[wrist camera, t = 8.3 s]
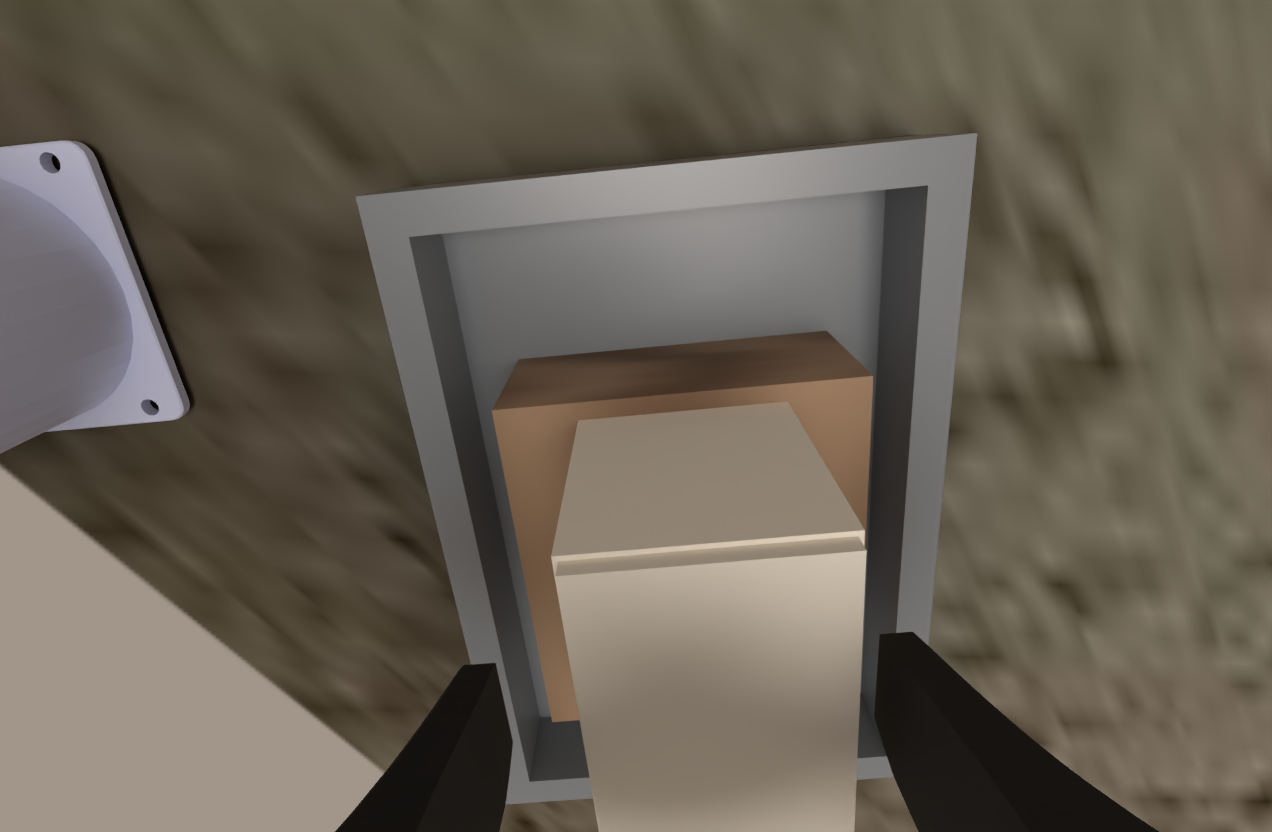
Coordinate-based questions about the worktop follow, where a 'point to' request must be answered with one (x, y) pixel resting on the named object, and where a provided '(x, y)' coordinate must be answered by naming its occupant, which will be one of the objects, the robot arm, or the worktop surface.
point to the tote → (670, 315)
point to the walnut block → (658, 383)
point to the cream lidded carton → (712, 622)
